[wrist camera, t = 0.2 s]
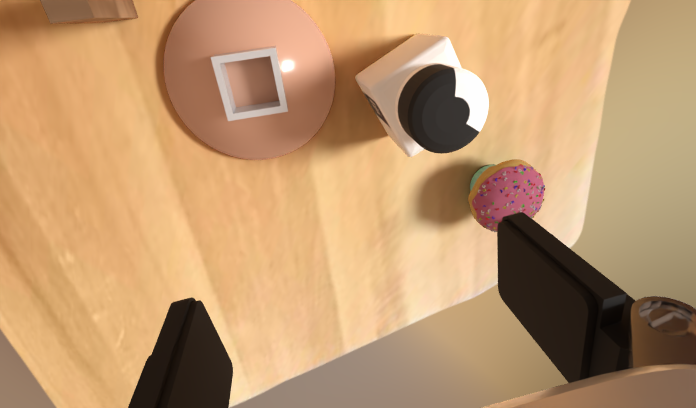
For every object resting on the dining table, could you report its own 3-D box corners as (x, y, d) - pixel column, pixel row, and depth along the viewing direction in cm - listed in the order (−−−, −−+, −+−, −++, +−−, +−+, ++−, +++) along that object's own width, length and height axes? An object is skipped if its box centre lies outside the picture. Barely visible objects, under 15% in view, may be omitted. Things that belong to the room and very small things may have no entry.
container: (388, 136, 42) (430, 181, 31) (352, 75, 39) (384, 100, 27) (449, 97, 41) (515, 128, 30) (418, 31, 38) (479, 37, 26)
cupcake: (512, 210, 49) (576, 263, 39) (450, 215, 48) (499, 271, 37) (525, 146, 45) (601, 185, 35) (458, 150, 44) (515, 192, 34)
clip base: (139, -2, 33) (124, -4, 30) (321, -26, 34) (325, -30, 31) (195, 169, 40) (188, 182, 37) (343, 143, 42) (349, 154, 38)
